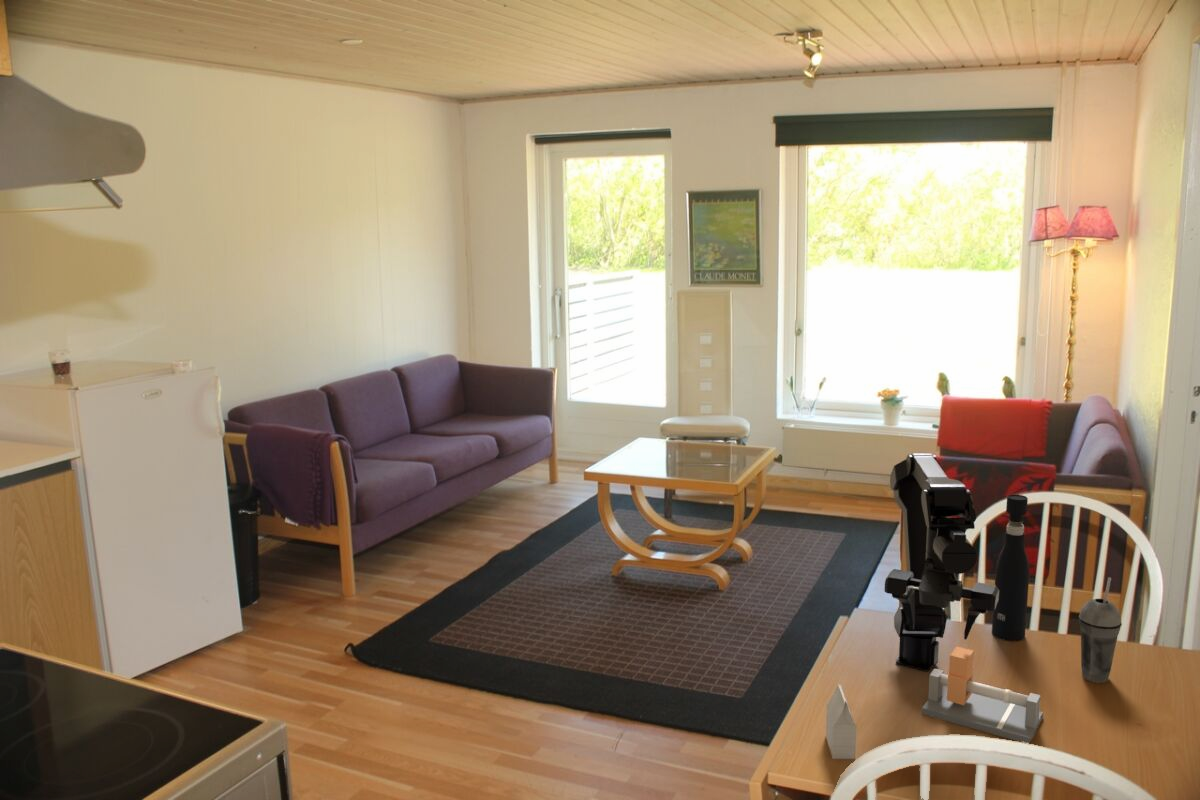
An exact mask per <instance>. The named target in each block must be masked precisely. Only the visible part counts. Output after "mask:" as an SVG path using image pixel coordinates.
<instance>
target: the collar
mask: <svg viewBox="0 0 1200 800" xmlns="http://www.w3.org/2000/svg"><path fill="white" fill-rule="evenodd" d="M974 653H975V652H974V650H973V649H968V648H964V647H961V646H956V647H955V648H954V649H953V650H952V652H951V653H950V654H949V667H948V668H949V669H948V674H947V675H948V686H947V701H950V702H954V703H958V704H961V705H965V703H966V702H967V700H968V698H969V697H970V695H971V694H972V693H970V692H966V688H967V681H968V680H969V681H973V680H974ZM973 682H974V681H973Z"/></svg>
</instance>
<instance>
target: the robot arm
mask: <svg viewBox="0 0 1200 800" xmlns="http://www.w3.org/2000/svg"><path fill="white" fill-rule="evenodd" d="M937 461H938V460H937V456H936V455H935V454H932V453H931V452H921V453H920V452H919V453H918V452H917V453H916V452H915V453H914V452H911V454H907V456H906V458H905V459H904V460H902V461H900V462H898V463H896V464H895V465H894V466H893V468H892V470H891V472H890V476H889V485H890V490H892V492H893V499H894V501H895V504H897V506H898V507H899V508H900V510H901V512H902V515H903V529H904V531H903V532H904V547H905V564H906V570H903V569H896V568H894V569H891V571H890V572H889V573H888V575H887V577H886V578H885V581H884V592H885V593H886V594H890V595H891V597H892V598H893V599H896V600H898V601H899V603H900V604H899V606H898V608H897V610H896V612H895V614H894V615H893V625H894V626H893V627H894V630H895V631H896V633H897V635H898V638H899V646H898V657H897V659H895V664H897V665H900V666H903V667H908V668H913V669H917V670H919V671H920V670H921V671H924V672H929V671H930V670H932V668H933V666H935V665H936V664H937V662H938V661H939V648H940V647H939V644H940V642H939V641H938V640H937V638H941V639H942V638H944V634H945V632H946V625H947V620H948V618H949V617H948V614H947V613H946V610H945V609H946V608H947V607H949V604H950V602H951V603H954V602H955V601H956V602H961V600H962V599H967V600H970V605H969V607H968V608H967V609H968V610H967V617H966V623H965V627H964V632H963V633H964V634H963V636H964V637H963V639H964V641H965V640H967V639H968V637H969V635H970V632H971V630H972V627H973V625H974V624H975V621H976V620H977V618H978V616H979V615H980V614H983V615H984V614H987V613H988V612H993V611H995V608H996V605H997V603H998V600H999V589H998V587H997V586H996V585H995V584H990V583H984V582H977V581H976V582H975V583H974V584H973V585H974V586H973V587H967V586H963V581H962V580H960V575H961V574H966V573H968V572H970V571H971V570H973V568H974V567H975V566H976V564H977V561H978V554H977V550H976V549H975V547H974V546H973V545H972V544H971V542H970V541H969V539H968V538H967V535H966V529H967V530H974V529H975V526H976V525H975V522H976V520H977V515H976V509H975V505H974V499H973V496H972V495H971V491H970V490H969V489H967V487H966V485H965V484H964V483H963V482H961V481H960V480H957V479H953V478H949V477H948V476H947V474H946V472H945V471H944V470H943V468H942V467H941V466H940V464H939V462H937ZM964 516H965V517H964Z"/></svg>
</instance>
